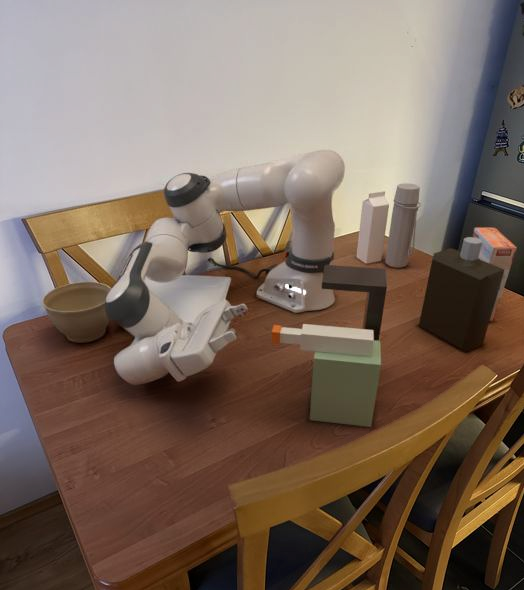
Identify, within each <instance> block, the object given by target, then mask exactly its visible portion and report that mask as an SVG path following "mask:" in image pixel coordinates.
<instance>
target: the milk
mask: <svg viewBox="0 0 524 590" xmlns="http://www.w3.org/2000/svg"><path fill="white" fill-rule="evenodd" d="M361 203H362V204H361V210H360V211H361V213H360V222H359V230H358V240H357V248H356V258H357V260H358V259H359V260H360V261H361V262H362V263H364V264H367V265H368V264H373V263H379V262H381V261H382V259H383V253H384V252H383V251H384V245H385V237H386V230H387V224H388V217H389V210H390V203H389V201H388V199H387V198H386V191H376V192H370V193H369V194H368V198H366V199H364V200H362V201H361Z"/></svg>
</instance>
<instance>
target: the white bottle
mask: <svg viewBox="0 0 524 590" xmlns="http://www.w3.org/2000/svg"><path fill="white" fill-rule="evenodd" d="M373 342H374V331H373V330H367V329H362V328H355V327H354V328H353V327H342V326H332V325H321V324H310V323H309V324H308V323H303V324H302V327H301V328H295V327H284V326H282V325H278V324H273V326H272V329H271V344H274V345H280V344H289V345H299V346H300V347H299V350H300V351H307V352H315V351H316V352H326V353H337V354H347V355H357V356H368V357H371V355H372V348H373Z"/></svg>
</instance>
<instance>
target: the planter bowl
mask: <svg viewBox="0 0 524 590" xmlns="http://www.w3.org/2000/svg"><path fill="white" fill-rule="evenodd" d="M111 288H112V287H110V286H109V285H107V284H106V283H103V282H98V281H77V282H72V283H67V284H64V285H61V286H57V287H56V288H53V289H52V290H50V291H49V292H47V293H46V294H45V295H44V296H43V298H42V306H43V307H44V309H45V311H46V314H47V316H48V318H49V320H50V322H51V323H52V325H53V326H54V327H55V328H57V330H58V331H59V332H61V333H62V334H63V335H64V336H65V337H66V338H67V340H69V341H70V342H73V343H78V344H79V343H80V344H82V343H90V342H94V341H96V340H98V339H100V338H102V337H103V336H104V335H105V333H106V332H107V327H108V325H109V323H110V321H111V320H110V319H108V317H107V316H106V312H105V297H106V295H107V294H108V292H109V291H110V289H111Z"/></svg>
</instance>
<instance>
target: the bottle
mask: <svg viewBox="0 0 524 590" xmlns="http://www.w3.org/2000/svg"><path fill="white" fill-rule="evenodd" d="M481 246H482V240H481V239H478V238H474V237H472V236H468V237H464V238H463V242H462V246H461V250H457V249H454V248H453V247H449V248H447V249H446V248H445V249H444V250H441V251H436V252H434V253H433V255H432V258H431V259H432V260H431V264H430V268H429V274H428V278H427V283H426V289H425V292H424V293H425V294H424V298H423V303H422V307H421V313H420V317H419V322H418V326H419V327H420V328H422V329H424V330H426V331H428V332H429V333H431V334H433V335H434V336H436V337H438V338H440V339H441V340H443V341H444V342H447V343H448V344H450V345H452V346H454V347H456V348H457V349H459V350H461V351H462V352H465V353H468V352H470V351H472V350H474V349H476V348H479V347H480V346H483V345H484V341H485V338H486V335H487V331H488V328H489V325H490V322H491V321H490V318H491V315H492V311H493V308H494V305H495V301H496V298H497V294H498V291H499V288H500V284H501V281H502V278H503V274H504V269H502V268H500V267H497V266H495V265H492V264H490V263H487V262H485V261H482V260H480V259H479V258H478V257H479V254H480V250H481Z"/></svg>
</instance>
